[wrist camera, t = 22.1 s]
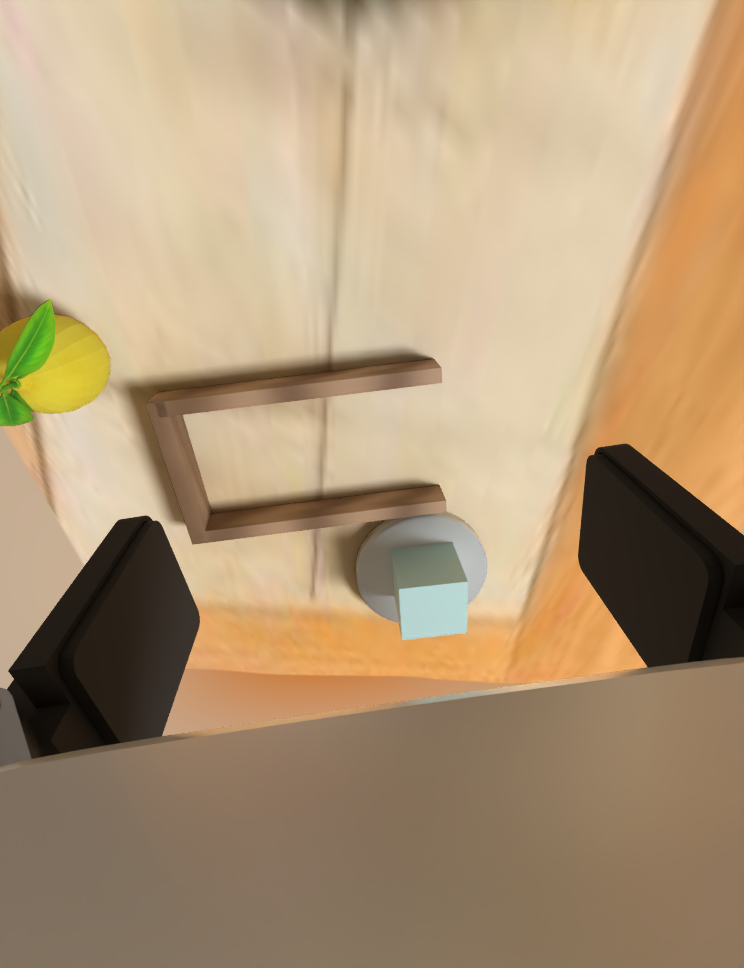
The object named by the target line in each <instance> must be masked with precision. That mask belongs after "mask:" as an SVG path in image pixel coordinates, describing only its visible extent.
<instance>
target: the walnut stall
mask: <svg viewBox="0 0 744 968" xmlns="http://www.w3.org/2000/svg"><path fill="white" fill-rule="evenodd" d="M436 383H442V371H441V367H440V365H439V364H438V363H437V362H436V361H435V359H428V360H420V361H412V362H404V363H395V364H387V365H379V366H371V367H363V368H354V369H346V370H338V371H330V372H322V373H313V374H305V375H297V376H289V377H280V378H272V379H264V380H256V381H248V382H239V383H231V384H223V385H215V386H207V387H198V388H190V389H182V390H174V391H165V392H157V393H156V394H155V395H154V396H153V397H152V398H151V399H150V400H149V401H148V402H147V403H146V404H145V405H146V408H147V411H148V414H149V417H150V420H151V423H152V426H153V429H154V432H155V435H156V438H157V440H158V443H159V446H160V449H161V452H162V455H163V458H164V461H165V464H166V467H167V470H168V473H169V476H170V479H171V482H172V485H173V488H174V491H175V494H176V497H177V500H178V503H179V506H180V509H181V512H182V515H183V518H184V521H185V524H186V527H187V530H188V533H189V535H190V538H191V541H192V544H200V543H208V542H216V541H224V540H231V539H239V538H247V537H255V536H263V535H270V534H278V533H286V532H294V531H302V530H309V529H317V528H325V527H333V526H340V525H348V524H356V523H364V522H372V521H379V520H387V519H395V518H403V517H411V516H418V515H426V514H434V513H442V512H446V499H445V497H444V495H443V492H442V490H441V488H440V486H439V485H435V486H427V487H419V488H411V489H404V490H396V491H388V492H380V493H372V494H364V495H356V496H349V497H341V498H333V499H325V500H317V501H309V502H301V503H294V504H286V505H278V506H270V507H262V508H254V509H246V510H239V511H231V512H223V513H215V514H212V511H211V508H210V504H209V501H208V498H207V495H206V491H205V488H204V485H203V481H202V478H201V475H200V471H199V468H198V465H197V461H196V458H195V455H194V452H193V448H192V445H191V442H190V438H189V435H188V432H187V428H186V425H185V422H184V418H183V415H184V414H192V413H200V412H208V411H216V410H224V409H233V408H241V407H249V406H257V405H265V404H273V403H281V402H290V401H298V400H306V399H314V398H322V397H330V396H338V395H347V394H355V393H363V392H371V391H379V390H387V389H395V388H404V387H412V386H420V385H428V384H436Z"/></svg>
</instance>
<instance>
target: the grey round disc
mask: <svg viewBox="0 0 744 968" xmlns="http://www.w3.org/2000/svg"><path fill="white" fill-rule="evenodd" d="M448 542H453V545H454V547H455V550H456V552H457V555H458V557H459V560H460V562H461V565H462V568H463V570H464V573H465V575H466V578H467V580H468V603H467V605H468V604H469V603H470V602H471V601H472V600H473V599H474V598H475V597H476V596H477V594H478V593H479V591H480V590H481V588H482V586H483V584H484V581H485V578H486V574H487V558H486V554H485V551H484V549H483V546H482V544H481V542H480V540H479V538H478V536H477V535H476V533H475V531H474V530H473V529H472V528H471V527H470V526H469V525H468V524H467V523H466V522H465V521H464V520H462V519H460V518H459V517H457V516H455V515H453V514H450V513H447V512H442V513H434V514H426V515H418V516H411V517H403V518H395V519H387V520H385V521H383V522H382V523H380V524H379V525H378V526H376V527H375V528H374V529H373V530H372V531H371V532H370V533H369V534H368V536H367V537H366V538H365V540H364V541H363V543H362V545H361V547H360V549H359V551H358V555H357V559H356V574H357V585H358V589H359V592H360V594H361V596H362V598H363V600H364V601H365V603H366V604H367V605H368V606H369V607H370V608H371V609H372V610H373V611H374V612H376V613H377V614H379V615H380V616H382V617H384V618H386V619H388V620H391V621H394V622H398V623H399V620H398V615H397V609H396V603H395V598H394V585H393V570H392V555H391V548H400V547H410V546H419V545H429V544H438V543H448Z"/></svg>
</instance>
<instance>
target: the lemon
mask: <svg viewBox="0 0 744 968" xmlns="http://www.w3.org/2000/svg"><path fill="white" fill-rule="evenodd" d="M109 375H110V356H109V354H108V351H107V349H106V346H105V344H104V343H103V342H102V340H101V339H100V338H99V336H98V335H97V334H96V333H95V332H94V331H92V330H91V329H90V328H88V327H87V326H86V325H85V324H83V323H81V322H79V321H77V320H75V319H73V318H70V317H66V316H60V315H54V311H53V307H52V301H51V299H49V300H48V301H46V302H45V303H43V304H42V305H40V306H39V307H38V309H37V310H36V311H35V312H34V313H33V314H32V316H30V317H26V318H23V319H21V320H18V321H16V322H14V323H12V324H11V325H9V326H7V327H5V328H4V329H3V330H1V332H0V394H1V396H0V426H16V425H21V424H25V423H28V422H30V421H32V420H33V415H32V414H31V412H30V411H32V412H39V413H47V414H54V413H65V412H70V411H74V410H76V409H78V408H80V407H82V406H84V405H86V404H88V403H90V402H91V401H93V400H94V399H95V398H96V397H97V396H98V395H99V394H100V393H101V392H102V390H103V389H104V388H105V386H106V384H107V381H108V378H109Z"/></svg>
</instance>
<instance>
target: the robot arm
mask: <svg viewBox="0 0 744 968" xmlns="http://www.w3.org/2000/svg"><path fill="white" fill-rule="evenodd" d="M578 559H579V564H580V567H581V569H582V571H583V573H584V574H585V576H586V577H587V579H588V580H589V582H590V583H591V585H592V586H593V588H594V589H595V590H596V592H597V593H598V595H599V596H600V598H601V599H602V601H603V602H604V604H605V605H606V607H607V608H608V610H609V611H610V612H611V614H612V615H613V617H614V618H615V620H616V621H617V623H618V624H619V626H620V627H621V629H622V630H623V632H624V633H625V634H626V636H627V637H628V639H629V640H630V642H631V643H632V645H633V646H634V648H635V649H636V651H637V652H638V654H639V655H640V656H641V658H642V659H643V661H644V662H645V664H646V665H647V667H648V668H641V669H632V670H624V671H617V672H610V673H602V674H595V675H588V676H580V677H573V678H566V679H558V680H551V681H544V682H537V683H529V684H523V685H515V686H508V687H501V688H493V689H486V690H479V691H472V692H464V693H457V694H450V695H443V696H436V697H429V698H422V699H415V700H408V701H400V702H394V703H386V704H379V705H373V706H366V707H359V708H352V709H345V710H338V711H331V712H324V713H317V714H310V715H303V716H296V717H289V718H283V719H276V720H269V721H263V722H256V723H249V724H242V725H236V726H230V727H222V728H216V729H209V730H202V731H195V732H189V733H182V734H175V735H168V736H162V734H163V731H164V728H165V725H166V722H167V719H168V716H169V713H170V711H171V708H172V705H173V702H174V698H175V696H176V693H177V690H178V687H179V684H180V681H181V678H182V675H183V672H184V670H185V667H186V664H187V661H188V658H189V655H190V652H191V649H192V646H193V643H194V640H195V637H196V634H197V632H198V629H199V624H200V616H199V612H198V609H197V606H196V604H195V602H194V599H193V597H192V595H191V592H190V590H189V588H188V585H187V583H186V581H185V578H184V576H183V574H182V571H181V569H180V567H179V564H178V562H177V560H176V557H175V555H174V553H173V550H172V548H171V546H170V543H169V541H168V539H167V536H166V534H165V532H164V529H163V527H162V525H161V524H160V523H159V522H158V521H153V520H152V519H151V518H150V517H149V516H140V517H134V518H127V519H121V520H118V521H117V522H116V523H115V525H114V526H113V528H112V529H111V530H110V532H109V533H108V534H107V536H106V537H105V539H104V540H103V541H102V543H101V544H100V545H99V547H98V548H97V550H96V551H95V552H94V554H93V555H92V556H91V558H90V559H89V561H88V562H87V563H86V565H85V566H84V567H83V569H82V570H81V572H80V573H79V574H78V576H77V577H76V579H75V580H74V581H73V583H72V584H71V585H70V587H69V588H68V589H67V591H66V592H65V594H64V595H63V596H62V598H61V599H60V601H59V602H58V603H57V605H56V606H55V607H54V609H53V610H52V611H51V613H50V614H49V616H48V617H47V618H46V620H45V621H44V622H43V624H42V625H41V627H40V628H39V629H38V631H37V632H36V633H35V635H34V636H33V638H32V639H31V640H30V642H29V643H28V644H27V646H26V647H25V649H24V650H23V651H22V653H21V654H20V655H19V657H18V658H17V660H16V661H15V662H14V664H13V665H12V666H11V668H10V669H9V672H10V674H11V675H12V677H13V678H14V680H13V682H12V683H11V685H10V686H9V687H8V689H3V688H0V968H744V535H743V534H741V533H740V532H739V531H738V530H736V529H735V528H734V527H733V526H731V525H730V524H729V523H727V522H726V521H725V520H724V519H722V518H721V517H720V516H719V515H717V514H716V513H715V512H714V511H712V510H711V509H710V508H709V507H707V506H706V505H705V504H703V503H702V502H701V501H700V500H698V499H697V498H696V497H695V496H693V495H692V494H691V493H690V492H688V491H687V490H686V489H685V488H683V487H682V486H681V485H679V484H678V483H677V482H676V481H674V480H673V479H672V478H671V477H669V476H668V475H667V474H666V473H664V472H663V471H662V470H661V469H659V468H658V467H657V466H655V465H654V464H653V463H652V462H650V461H649V460H648V459H647V458H645V457H644V456H643V455H642V454H640V453H639V452H638V451H637V450H635V449H634V448H633V447H631V446H630V445H628V444H619V445H613V446H606V447H599V448H598V449H596V451H595V453H594V455H591V456H589V457H588V459H587V463H586V474H585V485H584V496H583V507H582V518H581V529H580V540H579V551H578Z"/></svg>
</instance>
